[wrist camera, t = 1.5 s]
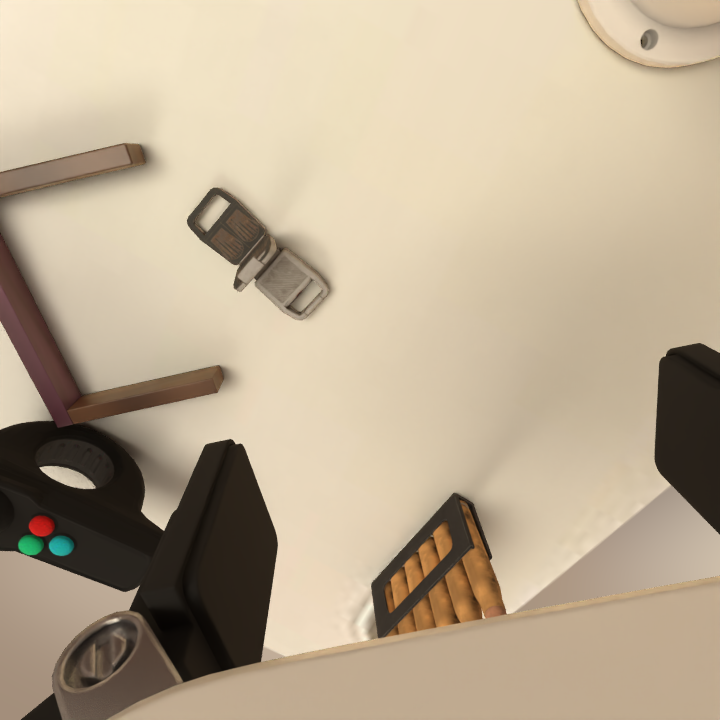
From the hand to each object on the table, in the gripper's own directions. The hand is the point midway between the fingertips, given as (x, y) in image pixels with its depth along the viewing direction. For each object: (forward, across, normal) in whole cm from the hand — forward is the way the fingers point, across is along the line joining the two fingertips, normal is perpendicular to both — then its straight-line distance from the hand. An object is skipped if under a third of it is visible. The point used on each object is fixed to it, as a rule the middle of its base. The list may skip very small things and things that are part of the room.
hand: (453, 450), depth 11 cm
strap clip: (+20, +7, -2) cm, 21 cm away
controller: (+19, +20, +9) cm, 29 cm away
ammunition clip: (+19, +1, +22) cm, 29 cm away
